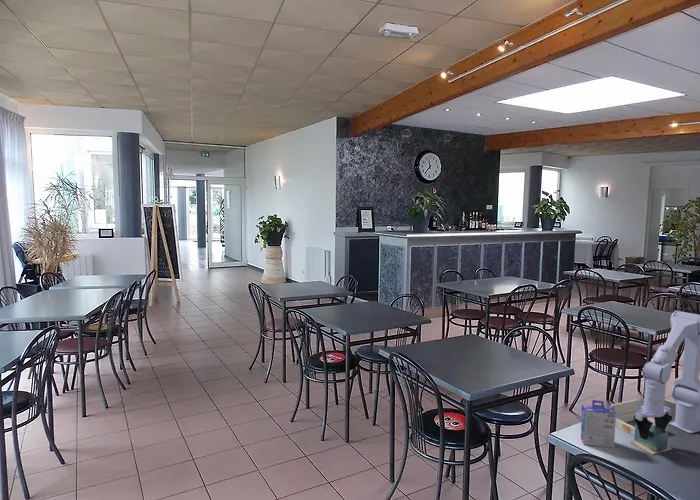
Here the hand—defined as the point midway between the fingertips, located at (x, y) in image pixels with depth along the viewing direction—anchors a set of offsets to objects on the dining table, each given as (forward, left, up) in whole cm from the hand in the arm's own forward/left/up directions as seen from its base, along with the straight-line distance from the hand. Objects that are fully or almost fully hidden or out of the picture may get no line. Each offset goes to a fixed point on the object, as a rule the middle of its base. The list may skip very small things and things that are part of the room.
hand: (651, 436), depth 159 cm
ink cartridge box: (+15, -8, -4) cm, 18 cm away
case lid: (-8, -17, -3) cm, 19 cm away
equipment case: (-8, -10, -3) cm, 14 cm away
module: (0, 0, -3) cm, 3 cm away
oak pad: (0, 0, -3) cm, 3 cm away
